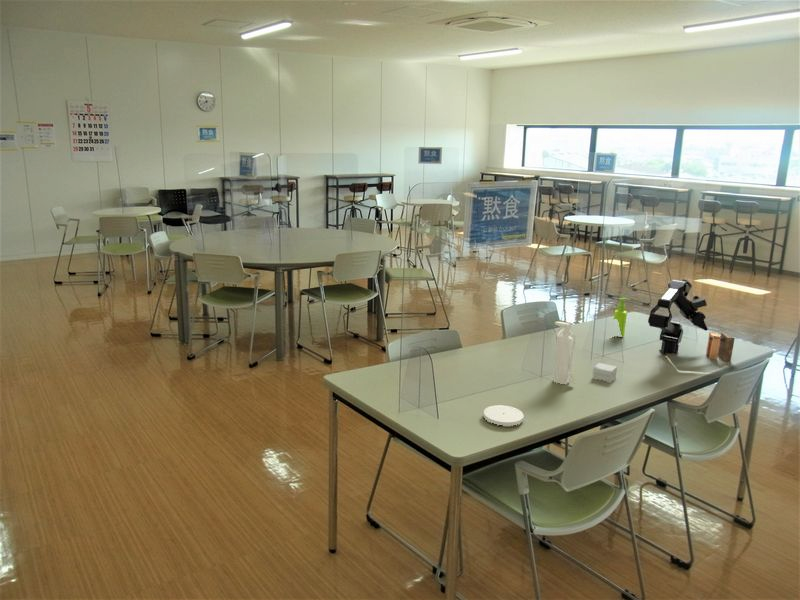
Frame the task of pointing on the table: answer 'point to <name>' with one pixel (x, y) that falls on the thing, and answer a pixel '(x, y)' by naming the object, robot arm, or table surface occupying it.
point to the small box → (604, 372)
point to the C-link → (713, 346)
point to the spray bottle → (564, 354)
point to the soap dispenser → (621, 315)
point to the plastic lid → (503, 415)
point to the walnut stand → (725, 346)
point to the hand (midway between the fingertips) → (703, 327)
